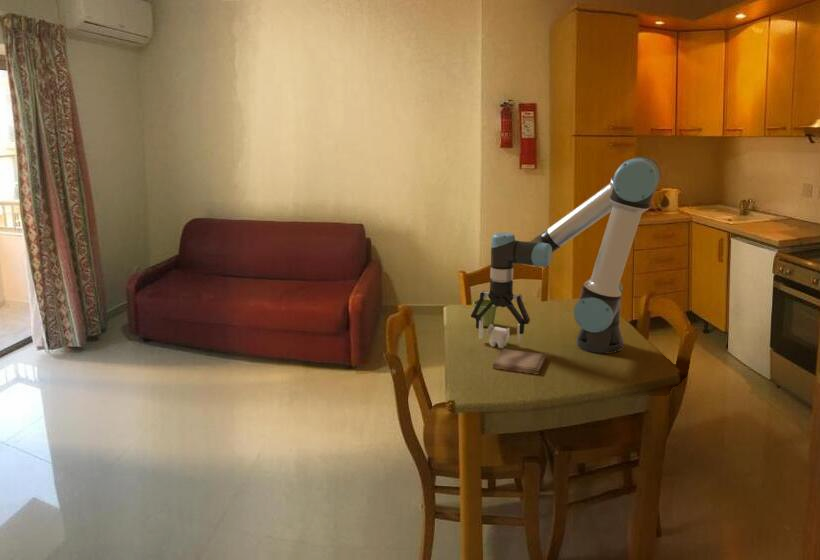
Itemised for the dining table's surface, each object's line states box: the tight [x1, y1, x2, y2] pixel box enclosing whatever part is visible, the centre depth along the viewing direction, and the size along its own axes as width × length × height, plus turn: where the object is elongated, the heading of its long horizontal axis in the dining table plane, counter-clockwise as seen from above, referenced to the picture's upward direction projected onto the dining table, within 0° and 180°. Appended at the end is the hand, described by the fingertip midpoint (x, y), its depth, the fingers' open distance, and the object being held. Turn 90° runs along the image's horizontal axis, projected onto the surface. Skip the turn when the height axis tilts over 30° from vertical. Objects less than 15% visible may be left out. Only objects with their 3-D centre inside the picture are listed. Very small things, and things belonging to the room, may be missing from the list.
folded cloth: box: [492, 348, 547, 374], centre depth 199 cm, size 14×14×2 cm
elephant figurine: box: [485, 324, 511, 349], centre depth 215 cm, size 8×10×7 cm
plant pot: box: [472, 298, 498, 328], centre depth 235 cm, size 9×9×9 cm
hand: (499, 340), depth 215 cm, fingers open, 12 cm apart
